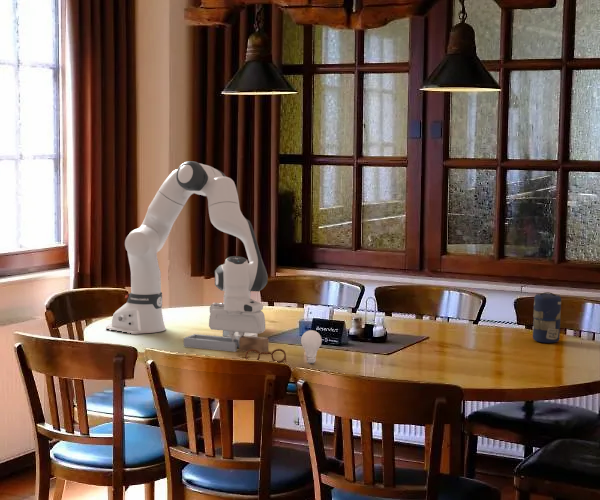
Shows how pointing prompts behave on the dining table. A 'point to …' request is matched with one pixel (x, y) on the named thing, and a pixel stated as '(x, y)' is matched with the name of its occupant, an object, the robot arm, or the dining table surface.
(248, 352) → the glasses
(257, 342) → the walnut blank
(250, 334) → the ceramic pedestal
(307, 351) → the light bulb
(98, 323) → the dining table surface
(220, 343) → the grey rectangular tray
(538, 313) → the canister
